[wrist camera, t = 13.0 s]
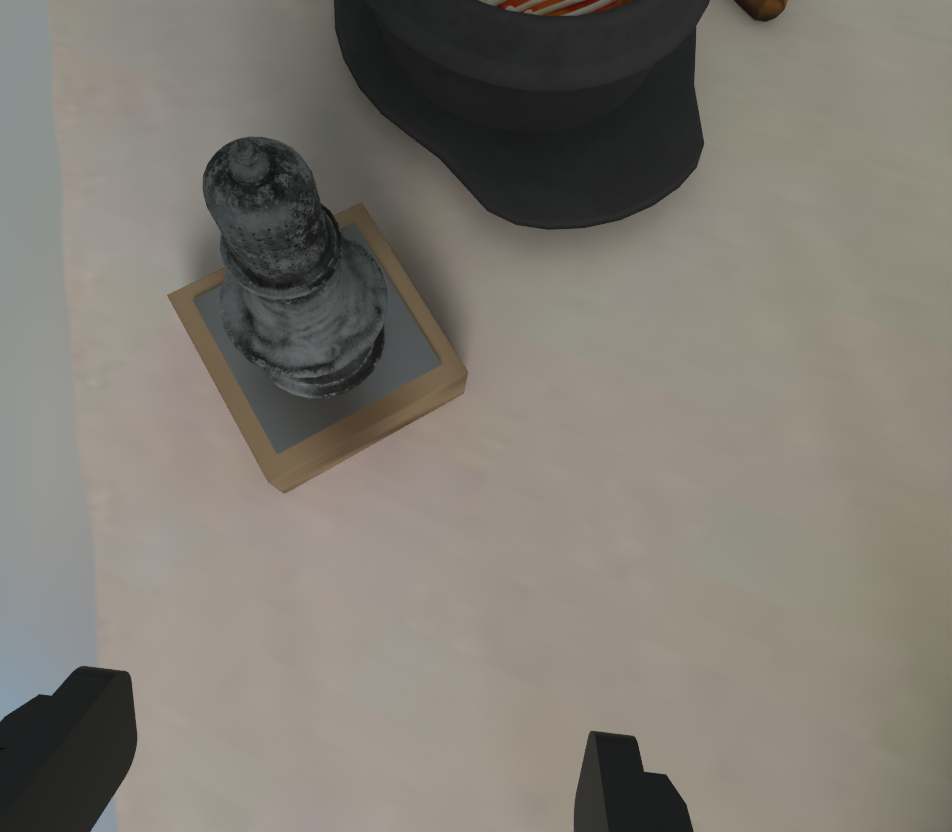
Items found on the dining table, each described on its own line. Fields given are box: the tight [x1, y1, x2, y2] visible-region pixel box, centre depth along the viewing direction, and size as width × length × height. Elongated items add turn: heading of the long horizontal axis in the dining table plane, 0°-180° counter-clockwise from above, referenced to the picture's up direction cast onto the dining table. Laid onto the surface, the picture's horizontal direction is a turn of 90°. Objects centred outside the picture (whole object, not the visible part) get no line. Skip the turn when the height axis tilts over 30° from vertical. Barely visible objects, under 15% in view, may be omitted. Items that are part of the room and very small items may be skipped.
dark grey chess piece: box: [203, 137, 387, 398], centre depth 21 cm, size 6×6×12 cm
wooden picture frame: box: [167, 203, 468, 494], centre depth 28 cm, size 9×9×3 cm
